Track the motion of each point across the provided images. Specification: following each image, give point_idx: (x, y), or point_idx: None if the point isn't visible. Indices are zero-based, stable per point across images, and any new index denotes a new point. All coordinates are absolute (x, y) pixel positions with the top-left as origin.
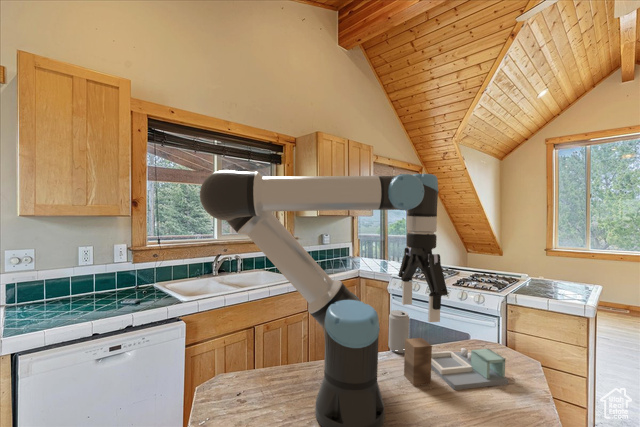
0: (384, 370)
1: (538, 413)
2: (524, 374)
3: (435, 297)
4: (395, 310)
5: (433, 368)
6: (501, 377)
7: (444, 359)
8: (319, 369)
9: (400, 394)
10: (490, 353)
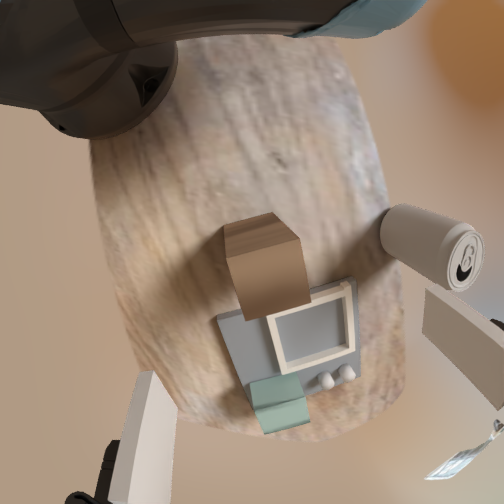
0: (292, 162)
1: None
2: None
3: (98, 500)
4: (483, 253)
5: None
6: None
7: (331, 329)
8: None
9: (181, 184)
10: (287, 421)
